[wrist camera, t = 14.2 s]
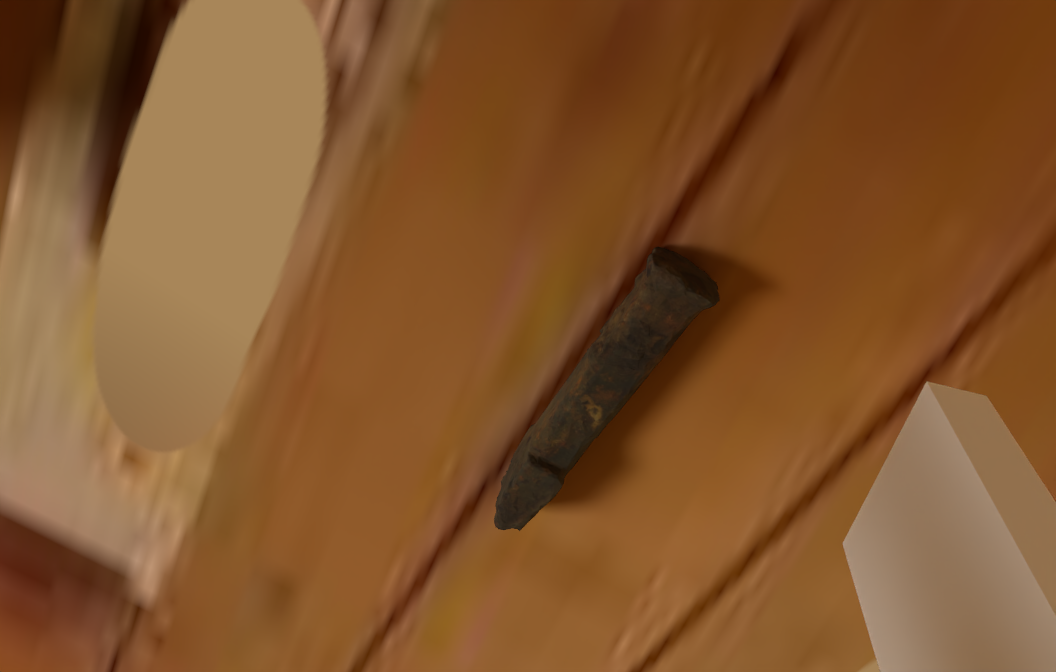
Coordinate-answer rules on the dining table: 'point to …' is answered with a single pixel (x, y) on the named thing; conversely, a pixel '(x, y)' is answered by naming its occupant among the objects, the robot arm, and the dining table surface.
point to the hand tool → (603, 381)
